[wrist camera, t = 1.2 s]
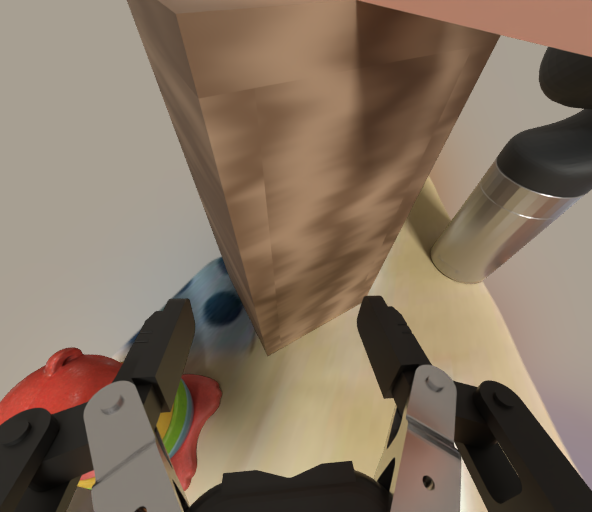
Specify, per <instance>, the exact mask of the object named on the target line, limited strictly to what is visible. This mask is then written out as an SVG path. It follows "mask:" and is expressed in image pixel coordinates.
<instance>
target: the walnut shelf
mask: <svg viewBox="0 0 592 512" xmlns="http://www.w3.org/2000/svg"><path fill="white" fill-rule="evenodd" d="M127 2H128V4H129V7H130V10H131V13H132V15H133V18H134V21H135V24H136V26H137V29H138V32H139V34H140V37H141V40H142V42H143V45H144V47H145V50H146V53H147V56H148V59H149V61H150V64H151V67H152V69H153V72H154V75H155V77H156V80H157V83H158V86H159V88H160V91H161V94H162V96H163V99H164V102H165V104H166V107H167V110H168V112H169V115H170V118H171V121H172V123H173V126H174V129H175V131H176V134H177V137H178V139H179V142H180V144H181V148H182V150H183V153H184V156H185V158H186V161H187V164H188V166H189V169H190V172H191V174H192V177H193V180H194V182H195V185H196V188H197V190H198V193H199V196H200V199H201V201H202V204H203V207H204V209H205V212H206V215H207V218H208V220H209V223H210V226H211V228H212V231H213V234H214V236H215V239H216V242H217V244H218V247H219V250H220V252H221V255H222V258H223V261H224V263H225V266H226V269H227V271H228V274H229V277H230V279H231V281H232V283H233V285H234V287H235V289H236V291H237V293H238V296H239V298H240V300H241V302H242V304H243V306H244V308H245V310H246V312H247V314H248V316H249V318H250V320H251V322H252V325H253V327H254V329H255V331H256V333H257V335H258V337H259V339H260V341H261V343H262V345H263V347H264V349H265V351H266V354H267V356H269V355H271V354H272V353H274V352H276V351H278V350H279V349H281V348H283V347H285V346H287V345H288V344H290V343H292V342H294V341H295V340H297V339H299V338H301V337H302V336H304V335H306V334H308V333H309V332H311V331H313V330H315V329H316V328H318V327H320V326H322V325H323V324H325V323H327V322H329V321H330V320H332V319H334V318H336V317H337V316H339V315H341V314H343V313H344V312H346V311H348V310H350V309H351V308H353V307H355V306H357V305H358V304H360V303H362V300H363V297H364V296H367V294H368V292H369V290H370V288H371V286H372V284H373V283H374V281H375V279H376V277H377V275H378V273H379V271H380V269H381V267H382V265H383V263H384V261H385V259H386V257H387V255H388V253H389V251H390V249H391V248H392V246H393V244H394V242H395V240H396V238H397V236H398V234H399V232H400V230H401V228H402V226H403V224H404V222H405V220H406V218H407V216H408V214H409V212H410V211H411V209H412V207H413V205H414V203H415V201H416V199H417V197H418V195H419V193H420V191H421V189H422V187H423V185H424V183H425V181H426V179H427V177H428V176H429V174H430V172H431V170H432V168H433V166H434V164H435V162H436V160H437V158H438V156H439V154H440V152H441V150H442V148H443V146H444V144H445V142H446V140H447V139H448V137H449V135H450V133H451V131H452V128H453V127H454V125H455V123H456V121H457V119H458V117H459V115H460V113H461V111H462V109H463V107H464V105H465V103H466V101H467V100H468V98H469V96H470V94H471V92H472V90H473V88H474V86H475V84H476V82H477V80H478V78H479V76H480V74H481V72H482V70H483V68H484V67H485V65H486V63H487V60H488V59H489V57H490V54H491V53H492V51H493V49H494V47H495V45H496V43H497V41H498V39H499V37H500V35H499V34H495V33H490V32H486V31H482V30H478V29H474V28H470V27H466V26H462V25H457V24H453V23H449V22H445V21H441V20H437V19H433V18H429V17H424V16H420V15H416V14H412V13H408V12H404V11H400V10H396V9H391V8H387V7H383V6H379V5H375V4H371V3H367V2H363V1H358V0H127Z"/></svg>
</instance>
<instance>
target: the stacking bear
mask: <svg viewBox="0 0 592 512" xmlns="http://www.w3.org/2000/svg"><path fill="white" fill-rule="evenodd" d="M122 364H123V362H118V361H116V360H114V359H112V358H109V357H105V356H101V355H84V354H82V352H81V350H79V349H78V348H65V349H62V350H60V351H58V352H56V353H55V354H54V355H53V356H51V357H50V358H49V360H48V361H47V363H46V365H45V366H43V367H41V368H40V369H38V370H37V371H35V372H33V373H31V374H30V375H28V376H27V377H26V378H24V379H23V380H22V381H21V382H19V383H18V384H17V385H16V386H15V387H14V388H12V389H11V390H10V392H9V393H8V394H7V395H6V396H5V397H4V398H3V399H2V401H1V402H0V425H1V424H2V423H4V422H5V421H6V420H8V419H9V418H11V417H13V416H14V415H16V414H18V413H20V412H22V411H25V410H28V409H31V408H44V409H47V410H48V411H49V412H50V413H51V414H54V413H57V412H60V411H63V410H66V409H69V408H71V407H74V406H77V405H80V404H83V403H86V402H88V401H89V400H90V399H91V398H92V397H93V396H94V395H95V394H96V393H97V392H98V391H99V390H101V389H102V388H103V387H105V386H107V385H109V384H111V383H112V382H113V380H114V379H115V377H116V375H117V373H118V371H119V369H120V368H121V366H122ZM221 396H222V392H221V390H220V389H219V384H218V382H216V381H215V380H213V379H211V378H208V377H205V376H201V375H193V374H183V375H182V377H181V380H180V383H179V387H178V390H177V393H176V396H175V400H174V403H173V406H172V409H171V412H165V413H160V416H159V419H158V422H157V425H156V426H157V428H158V430H159V433H160V435H161V438H162V440H163V443H164V445H165V448H166V450H167V453H168V455H169V458H170V460H171V463H172V465H173V468H174V470H175V472H176V475H177V477H178V479H179V481H180V483H181V486H182V488H183V490H184V491H185V490H186V489H187V488H188V487H189V485H190V483H191V478H192V477H193V476H194V474H195V472H196V468H197V460H196V445H197V440H198V436H199V434H200V431H201V429H202V427H203V425H204V424H205V422H206V421H207V419H208V418H209V417H210V416H211V415H212V414H213V413H214V412H215V411H216V410H217V408H218V407H219V404H220V398H221ZM94 484H95V473H94V470H93V471H90V472H88V473H86V474H83V475H82V476H81V478H80V481H79V483H78V485H77V486H78V487H83V488H87V489H92V486H93V485H94Z"/></svg>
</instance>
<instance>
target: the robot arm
mask: <svg viewBox="0 0 592 512" xmlns="http://www.w3.org/2000/svg"><path fill="white" fill-rule="evenodd" d="M539 82H540V86H541V89H542V91H543V92H544V94H545V95H546V96H547V97H548V98H549V99H551V100H552V101H554V102H557V103H560V104H562V105H565V106H568V107H573V108H582V109H584V110H582V111H581V112H579V113H577V114H575V115H573V116H571V117H569V118H566V119H564V120H562V121H559V122H556V123H552V124H549V125H545V126H541V127H537V128H533V129H529V130H525V131H523V132H520V133H519V134H517V135H515V136H514V137H513V138H512V139H510V141H509V142H508V143H507V144H506V146H505V147H504V148H503V150H502V151H501V152H500V154H499V155H498V157H497V158H496V160H495V161H494V162H493V164H492V165H491V167H490V168H489V169H488V171H487V172H486V173H485V175H484V176H483V178H482V179H481V181H480V182H479V183H478V185H477V186H476V188H475V189H474V190H473V192H472V193H471V194H470V196H469V197H468V199H467V200H466V201H465V203H464V204H463V205H462V207H461V209H460V210H459V211H458V212H457V214H456V215H455V217H454V218H453V219H452V221H451V222H450V223H449V225H448V226H447V227H446V229H445V230H444V231H443V233H442V234H441V236H440V237H439V238H438V240H437V241H436V243H435V244H434V245H433V247H432V249H431V258H432V261H433V263H434V264H435V266H436V267H437V268H438V269H439V270H440V271H441V272H442V273H443V274H444V275H446V276H447V277H449V278H451V279H453V280H455V281H458V282H462V283H468V284H474V283H479V282H482V281H483V280H484V279H486V278H487V277H488V276H489V275H490V274H492V273H493V272H494V271H495V270H496V269H497V268H499V267H500V266H501V265H502V264H504V263H505V262H506V261H507V260H508V259H510V258H511V257H512V256H513V255H514V254H516V253H517V252H518V251H519V250H520V249H521V248H523V247H524V246H525V245H526V244H527V243H529V242H530V241H531V240H532V239H533V238H534V237H536V236H537V235H538V234H539V233H540V232H542V231H543V230H544V229H545V228H546V227H547V226H549V225H550V224H551V223H552V222H553V221H555V220H556V219H557V218H558V217H559V216H560V215H561V214H563V213H564V212H565V211H566V210H567V209H569V208H570V207H571V206H572V205H573V204H574V203H575V202H577V201H578V200H579V199H580V198H582V197H583V196H584V195H585V194H586V193H588V192H589V191H590V190H591V189H592V57H590V56H585V55H581V54H577V53H573V52H569V51H565V50H561V49H557V48H552V47H548V48H547V50H546V53H545V54H544V57H543V60H542V62H541V65H540V70H539ZM357 328H358V332H359V334H360V337H361V339H362V342H363V345H364V347H365V350H366V353H367V355H368V358H369V360H370V363H371V366H372V368H373V371H374V374H375V376H376V379H377V381H378V384H379V387H380V389H381V392H382V395H383V397H384V399H385V398H394V401H395V403H396V406H395V408H394V412H393V416H392V420H391V424H390V428H389V431H388V435H387V439H386V443H385V447H384V450H383V454H382V456H381V459H380V461H379V464H378V466H377V469H376V473H375V476H374V479H372V478H371V477H369V476H367V475H365V474H363V473H361V472H358V471H355V470H354V468H353V464H352V461H346V462H335V463H325V464H320V465H318V466H316V467H314V468H312V469H309V470H307V471H305V472H303V473H301V474H299V475H297V476H294V477H292V478H286V477H282V476H278V475H274V474H270V473H266V472H262V471H257V470H253V471H243V472H233V473H223V479H222V483H221V484H219V485H216V486H215V487H213V488H211V489H210V490H208V491H207V492H206V493H204V494H203V495H202V496H200V497H199V498H198V499H197V500H196V501H195V502H194V503H193V504H192V505H191V506H190V505H189V502H188V500H187V497H186V495H185V493H184V490H183V488H182V486H181V483H180V481H179V479H178V477H177V475H176V472H175V470H174V468H173V465H172V463H171V460H170V458H169V455H168V453H167V450H166V448H165V445H164V443H163V440H162V438H161V435H160V433H159V430H158V428H157V426H156V425H157V422H158V419H159V416H160V413H165V412H171V409H172V406H173V403H174V400H175V396H176V393H177V390H178V387H179V383H180V380H181V377H182V373H183V370H184V367H185V364H186V360H187V357H188V354H189V350H190V347H191V344H192V341H193V337H194V333H195V321H194V316H193V312H192V308H191V304H190V300H189V299H169V300H168V302H167V304H166V306H165V308H164V310H163V311H156V312H155V313H154V314H152V315H151V316H150V317H149V318H148V319H147V320H146V321H145V323H144V325H143V327H142V329H141V330H140V334H138V336H137V338H136V340H135V343H133V345H132V347H131V349H130V351H129V353H128V355H127V356H126V358H125V360H124V362H123V364H122V366H121V368H120V369H119V371H118V373H117V375H116V377H115V379H114V380H113V382H112V383H111V384H109V385H107V386H105V387H103V388H102V389H101V390H99V391H98V392H97V393H96V394H95V395H94V396H93V397H92V398H91V399H90V400H89V401H88V402H86V403H83V404H80V405H77V406H74V407H71V408H69V409H66V410H63V411H60V412H57V413H54V414H51V413H50V412H49V411H48V410H47V409H44V408H31V409H28V410H25V411H22V412H20V413H18V414H16V415H14V416H13V417H11V418H9V419H8V420H6V421H5V422H4V423H2V424H1V425H0V512H66V510H67V508H68V506H69V503H70V501H71V499H72V497H73V494H74V492H75V490H76V487H77V485H78V483H79V481H80V478H81V476H82V475H83V474H86V473H88V472H90V471H93V470H94V473H95V484H94V485H93V486H92V489H91V497H92V504H93V510H94V512H460V489H461V457H462V459H463V461H464V463H465V465H466V467H467V469H468V471H469V473H470V475H471V477H472V479H473V481H474V483H475V485H476V487H477V489H478V492H479V494H480V496H481V498H482V500H483V502H484V504H485V506H486V508H487V510H488V512H592V491H591V489H590V488H589V487H588V486H587V484H586V483H585V482H584V480H583V479H582V478H581V477H580V475H579V474H578V473H577V471H576V470H575V469H574V467H573V466H572V465H571V464H570V462H569V461H568V460H567V458H566V457H565V456H564V455H563V453H562V452H561V451H560V449H559V448H558V447H557V445H556V444H555V443H554V442H553V440H552V439H551V438H550V436H549V435H548V434H547V432H546V431H545V430H544V429H543V427H542V426H541V425H540V423H539V422H538V421H537V420H536V418H535V417H534V416H533V414H532V413H531V412H530V410H529V409H528V408H527V407H526V405H525V404H524V403H523V401H522V400H521V399H520V398H519V397H518V396H517V395H516V394H515V393H514V392H513V391H512V390H511V389H509V388H508V387H506V386H504V385H503V384H501V383H498V382H495V381H484V382H482V383H481V384H480V386H479V387H475V386H471V385H467V384H463V383H459V382H456V381H453V380H452V379H451V378H450V377H449V376H448V375H447V374H446V373H445V372H444V371H442V370H441V369H439V368H437V367H435V366H432V364H431V363H430V361H429V360H428V358H427V356H426V355H425V353H424V351H423V350H422V348H421V346H420V345H419V343H418V341H417V340H416V338H415V336H414V335H413V334H412V331H411V330H410V328H409V327H408V326H407V323H406V322H405V320H404V318H403V317H402V315H401V314H400V313H399V312H398V311H397V310H396V309H395V308H393V307H392V306H391V307H388V306H387V305H386V303H385V301H384V299H383V298H382V297H381V296H364V297H363V300H362V304H361V307H360V310H359V314H358V317H357ZM454 442H455V444H456V446H457V448H458V449H456V448H455V447H454ZM498 443H499V444H498ZM500 446H501V447H500ZM501 448H502V449H501ZM503 451H504V452H503ZM504 453H505V454H506V455H505V454H504ZM460 454H461V455H460ZM506 456H507V457H506ZM508 459H509V460H508ZM509 461H510V462H509ZM511 464H512V465H511ZM512 466H513V467H512ZM514 469H515V470H514ZM515 471H516V472H517V473H516V472H515ZM517 474H518V475H517ZM518 476H519V477H518Z"/></svg>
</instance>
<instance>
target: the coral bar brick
mask: <svg viewBox="0 0 592 512" xmlns="http://www.w3.org/2000/svg"><path fill="white" fill-rule="evenodd" d="M358 1H363V2H367V3H371V4H375V5H379V6H383V7H387V8H391V9H396V10H400V11H404V12H408V13H412V14H416V15H420V16H424V17H429V18H433V19H437V20H441V21H445V22H449V23H453V24H457V25H462V26H466V27H470V28H474V29H478V30H482V31H486V32H490V33H495V34H499V35H503V36H507V37H511V38H515V39H519V40H524V41H528V42H532V43H536V44H540V45H544V46H548V47H552V48H557V49H561V50H565V51H569V52H573V53H577V54H581V55H585V56H590V57H592V0H358Z"/></svg>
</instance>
